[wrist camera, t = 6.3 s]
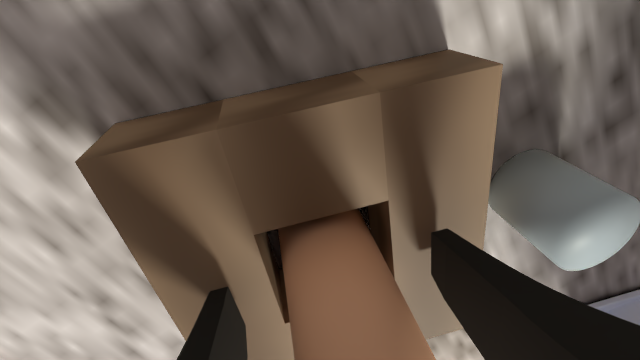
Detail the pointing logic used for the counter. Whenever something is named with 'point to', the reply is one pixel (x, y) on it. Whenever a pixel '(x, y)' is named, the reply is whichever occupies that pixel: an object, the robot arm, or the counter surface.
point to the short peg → (563, 209)
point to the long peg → (345, 294)
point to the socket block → (303, 183)
